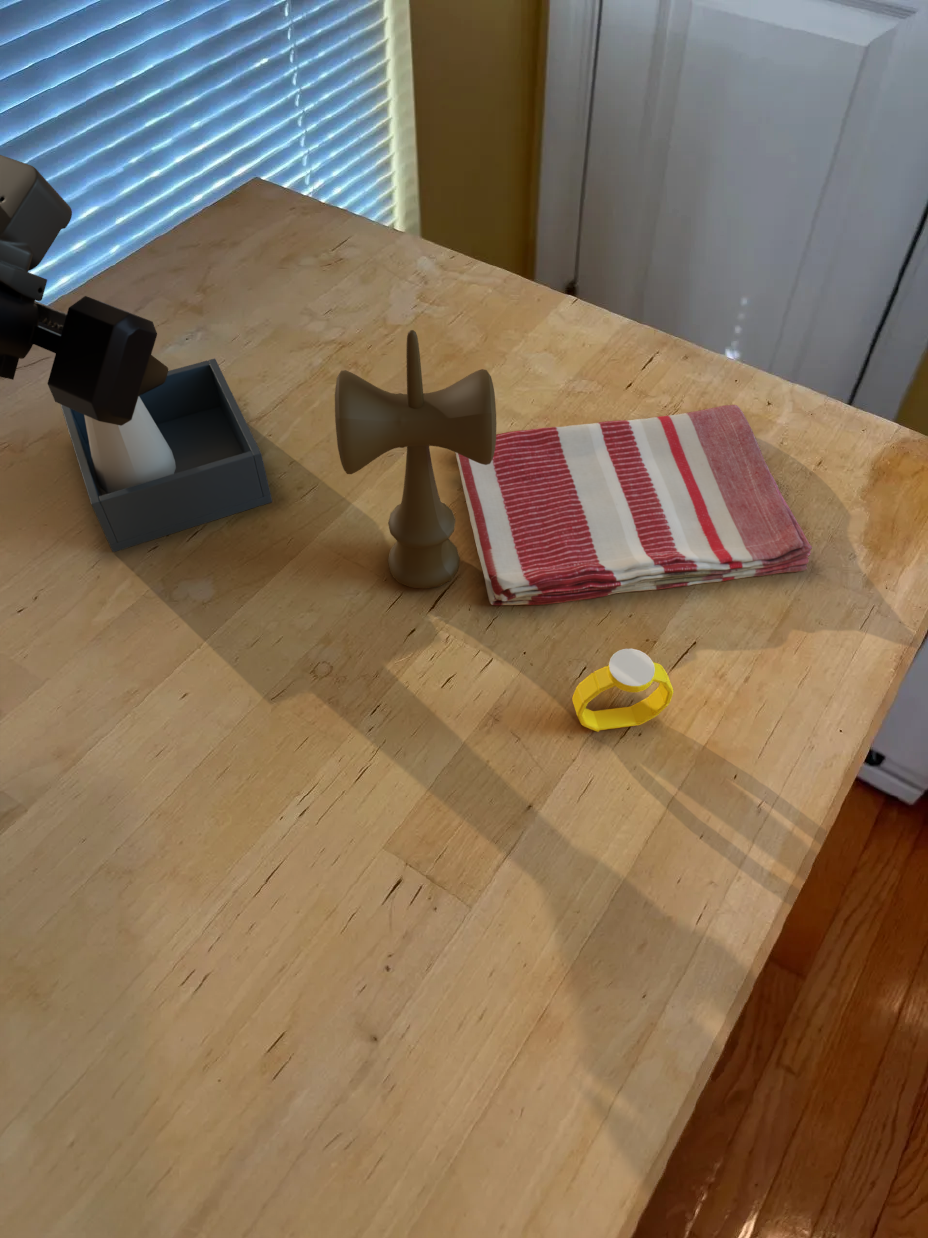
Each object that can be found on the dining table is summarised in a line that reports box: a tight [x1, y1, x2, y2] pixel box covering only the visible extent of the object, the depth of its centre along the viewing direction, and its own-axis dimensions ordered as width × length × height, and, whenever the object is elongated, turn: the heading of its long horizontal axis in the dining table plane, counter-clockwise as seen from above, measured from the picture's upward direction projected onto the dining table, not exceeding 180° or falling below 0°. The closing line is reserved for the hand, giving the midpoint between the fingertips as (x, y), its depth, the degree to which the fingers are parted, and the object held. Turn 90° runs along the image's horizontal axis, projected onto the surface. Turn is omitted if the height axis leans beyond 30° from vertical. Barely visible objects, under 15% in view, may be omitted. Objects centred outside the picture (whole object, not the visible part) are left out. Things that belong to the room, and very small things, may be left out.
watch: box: [571, 648, 674, 733], centre depth 58 cm, size 6×3×6 cm, turn 101°
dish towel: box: [454, 404, 813, 606], centre depth 70 cm, size 17×23×3 cm
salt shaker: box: [84, 397, 176, 494], centre depth 66 cm, size 6×6×13 cm
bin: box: [59, 357, 273, 553], centre depth 72 cm, size 12×12×5 cm
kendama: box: [334, 329, 497, 589], centre depth 60 cm, size 6×10×20 cm, turn 93°
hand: (112, 353), depth 63 cm, fingers open, 9 cm apart
